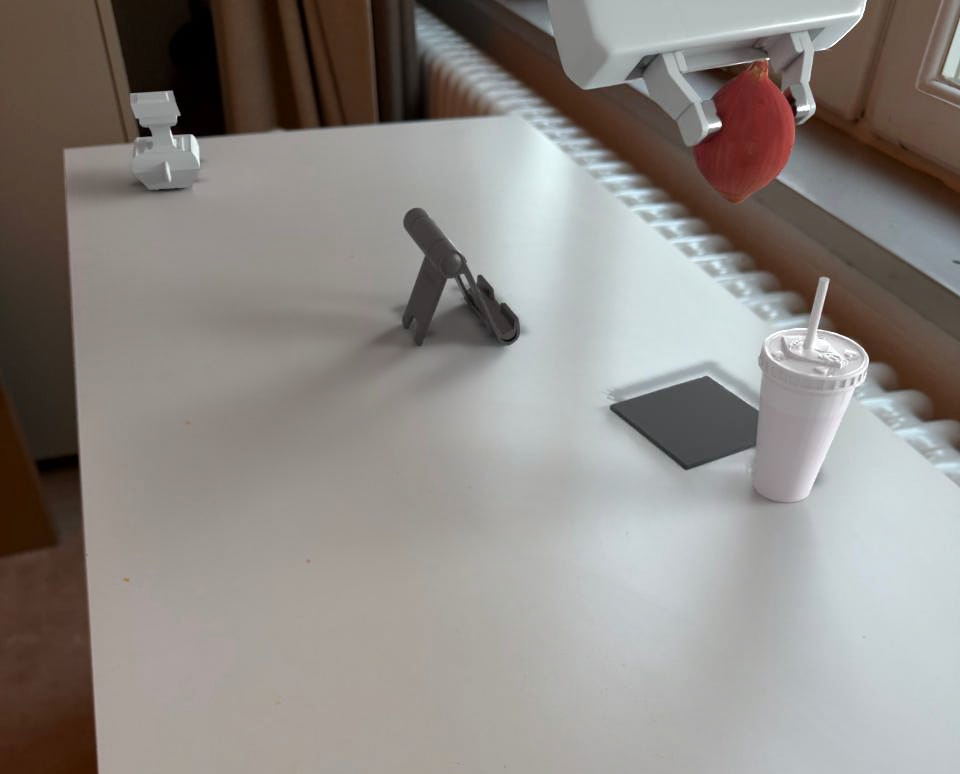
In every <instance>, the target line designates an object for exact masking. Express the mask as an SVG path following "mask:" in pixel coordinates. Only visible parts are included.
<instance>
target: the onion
mask: <svg viewBox="0 0 960 774" xmlns="http://www.w3.org/2000/svg"><path fill="white" fill-rule="evenodd" d="M769 66H770V65H769V59H763V58H762V59H758V60H755V61H753V63H751V65H749V66H748V67H746V68H745V69H744V70H742V71H741V72H740V73H739V74H738V75H736V76H734V77H733V78H731V79H730V80H728V81H727V82H726V83H725V84H723V85H722V86H721V87H720V88H719V89H717V91H715V93H714V94H713V95H712V96H711V98H710V99H709V100H714V103H715V106H716V108H717V114H716V115H717V116H718V117H719V118H720V120H721V123H722V124H721V131H720V133H719V134H718V135H717V136H715V137H713V139H712V140H711V141H710V142H709V143H705V144H700V145H695V146H692V156H693V159H694V161H695V166H696V168H697V169H698V171H699V172H700V174H701V175H702V176H703V178H704V179H705V180H706V182H707V183H708V185H710V186H711V187H712V188H713V189H714V190H715V191H716V192H717V193H718V194H720V195H721V197H723V198H724V199H725V200H726V201H727V202H728V203H730V204H740V203H742V202H744V201H745V200H747V199H748V198H749V197H750V196H752V195H753V194H755V193H756V192H758V191H760V190H762V189H763V188H765V187H766V186H768V185H769V184H770V183H772V182H773V181H774V180H775V179H776V178H778V177H779V175H781V173H782V171H783V170H784V168H785V166H786V165H787V164H788V162H789V160H790V158H791V154H792V151H793V148H794V145H795V139H796V125H795V122H794V115H793V112H792V109H791V106H790V105H789V103H788V101H787V99H786V98H785V96H784V95H783V93H782V92H781V89H780V88H779V87H778V86H777V85H776V84H775V82H773V81H772V80H771V79H770V77H769Z"/></svg>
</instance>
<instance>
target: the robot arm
mask: <svg viewBox="0 0 960 774" xmlns="http://www.w3.org/2000/svg"><path fill="white" fill-rule="evenodd" d="M546 2H547V3H546V4H547V8H548V13H549V19H550V23H551V28H552V33H553V37H554V40H555V41H554V42H555V44H556V49H557V52H558V56H559V59H560V62H561V63H560V64H561V66H562V69H563V71H564V73H565V76H567V78H569V79H570V80H571V82H573V83H574V84H575V85H576V86H577V87H578V88H580V89H582V90H593V89H599V88H604V87H605V88H606V87H611V86H617V85H622V84H628V83H634V82H641V81H644V83H645V86H646V90H647V92H648V95H649V97H650V98H651V99H652V100H653V101H654V102H655V103H656V104H657V105H658V106H659V107H660V108H661V109H662V110H663V111H664V112H665V113H666V114H667V115H669V117H670V118H672V120H673V121H676V123H677V126H678V129H679V132H680V135H681V137H682V141H683V143H684V145H685V146H686V147H693V146H695V145H700V144H705V143H709V142H710V141H711V140H712V139H713V137H715V136H717V135H718V134H719V133H720V131H721V124H722V123H721V120H720V118H719V117H718V116H717V115H716V114H717V108H716V106H715V103H714V100H710V99H708V100H703V99H702V98H701V97H700V95H698V93H697V92H696V91H695V90H694V88H693V87H692V86H691V84H690V83H689V82H688V81H687V80H686V78H685V77H684V75H685V74H688V73H693V72H699V71H705V70H706V71H707V70H711V69H717V68H722V67H729V66H735V65H740V64H746V63H747V64H748V63H752V62H754V61H755V60H758V59H762V58H763V59H767V60H769V63H770V65H771V67H772V70H773V72H774V73H775V74H782V75H781V89H780V91H781V92H782V93H783V95H784V96H785V98H786V99H787V101H788V103H789V105H790V106H791V109H792V112H793V115H794V122H795V126H798V125H799V126H800V125H803V124H804V123H805V122H806V121H807V120H809V119H810V118H811V117H812V116H813V115H815V112H816V109H817V107H816V101H815V99H814V96H813V93H812V89H811V87H810V84H809V83H810V82H811V75H812V74H811V73H812V66H813V62H814V61H813V60H814V54H815V52H818V51H824V50H828V49H829V48H832V47H833V46H834V45H835V44H836V43H838V42H839V41H840V40H841V39H842V38H843V37H844V36H845V35H847V33H849V32H850V31H851V30H852V29H853V28H854V27H855V26H857V24H858V23H859V22H860V20H861V19H862V18H863V16H864V15H863V14H864V12H865V8H866V3H867V0H546Z"/></svg>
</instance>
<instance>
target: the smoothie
mask: <svg viewBox="0 0 960 774" xmlns="http://www.w3.org/2000/svg"><path fill="white" fill-rule="evenodd" d="M829 283H830V278H829V277H827V276H821V277H819V279H818V284H817V287H816V292H815V296H814V300H813V304H812V309H811V313H810V316H809V321H808V325H807V328H791V329H785V330H781V331H777V332H774V333H772V334H771V335H769V336H768V337H766V338H765V340H764V341H763V342H762V344H761V348H760V353H759V355H758V357H757V359H758V360H757V361H758V367H759V368H760V370H761V378H760V390H759V391H760V392H759V403H758V410H759V416H758V428H757V440H756V446H755V455H754V465H753V478H752V479H753V480H752V486H753V488H754V489H755V491H756V492H757V493H758V494H759V495H760V496H762V497H764V498H765V499H768V500H771V501H774V502H778V503H786V504H787V503H789V504H790V503H797V502H801V501H803V500H804V499H806V498H807V497H808V496H809V495H810V493H811V491H812V488H813V485H814V484H815V481H816V479H817V476H818V475H819V472H820V470H821V467H822V466H823V463H824V460H825V458H826V457H827V454H828V451H829V449H830V447H831V444H832V443H833V440H834V438H835V435H836V433H837V431H838V429H839V426H840V425H841V422H842V420H843V417H844V415H845V413H846V410H847V408H848V407H849V405H850V401H851V399H852V397H853V395H854V392H855V390H856V388H858V387H860V385H862V384H863V383H864V382H865V380H866V377H867V375H868V374H867V371H868V368H869V364H870V357H869V355H868V353H867V352H866V351H865V349H864V347H862V346H861V345H860V344H859V343H858V342H857V341H855V340H853V339H850V338H849V337H846V336H844V335H841V334H839V333H836V332H831V331H828V330H823V329H818V328H819V323H820V321H821V316H822V312H823V308H824V303H825V299H826V296H827V292H828V288H829Z"/></svg>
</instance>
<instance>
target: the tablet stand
mask: <svg viewBox="0 0 960 774" xmlns="http://www.w3.org/2000/svg"><path fill="white" fill-rule="evenodd" d="M402 223H403V228H404V230H405V231H406V232H407V235H409V237H410V238H411V239H412V241H413V242H414V243H415V244H416V245H417V247H418V248H419V249H420V251H421V252H422V253H423V254H424V257H423V259H422V262H421V264H420V268H419V270H418V274H417V276H416V279H415V281H414V282H415V283H414V285H413V288H412V290H411V293H410V296H409V299H408V302H407V304H406V307H405V310H404V312H403V315H402V318H401V324H402V325H403V327H404V329H405V330H410V327H411V324H412V322H413V320H415V322H416V323H417V327H416V330H415V333H414V335H413V341H414V343H415V345H416V347H422V346H423V344H424V342H425V339H426V336H427V334H428V332H429V329H430V326H431V323H432V320H433V318H434V315H435V313H436V310H437V308H438V304H439V302H440V299H441V297H442V294H443V292H444V289H445V287H446V284H447V281H448V280H449V279H451V280H452V279H454V280H455V283H456V284H457V287H458V288H459V291H460V293H461V295H462V297H463V299H464V301H465V302H466V303H467V305H468V306H470V307H471V308H472V309H473V310H474V312H475V313H476V314H477V316H478V317H479V318H480V319H481V321H482V322H483V323H484V325H485V326H486V327H487V328H488V329H489V331H490V334H491V336H493V338H494V339H495V340H496V341H498V343H500V344H501V345H503V346H510V345H511V346H512V345H513V344H514V343H516V342H517V341H518V339H519V337H520V335H521V325H520V319H519V317H518V316H517V314H515V312H514V311H513V310H512V309H511V308H510V306H509V305H508V304H507V303H506V302H501V303H500V302H499V301H498V300H497V299H496V296H495V289H494V287H493V286H492V285H491V284H490V283H489V282H488V281H487V279H486V278H485V276H483V274H481V273H480V274H477V276H476V280H475V278H474V276H473V274H472V272H471V270H470V267H469V265H468V261H467V258H466V257H465V255H463V253H462V252H461V251H460V249H458V248H457V246H456V245H455V244H454V243H453V242H452V240H451V239H450V238H449V237H448V236H447V234H445V232H444V231H443V230H442V229H441V227H440V226H439V225H438V224H437V223H436V221H435V220H434V219H433V218H432V217H431V215H430V214H429V213H428V212H427V211H426V209H424V208H422V207H413V208H411V209H409V210H408V211H406V213H405V215H404V216H403V220H402ZM461 275H464V277H465V279H466V281H467V284H468V286H469V288H467V287H466V286H465V283H464V281H463V279H462V277H461Z"/></svg>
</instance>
